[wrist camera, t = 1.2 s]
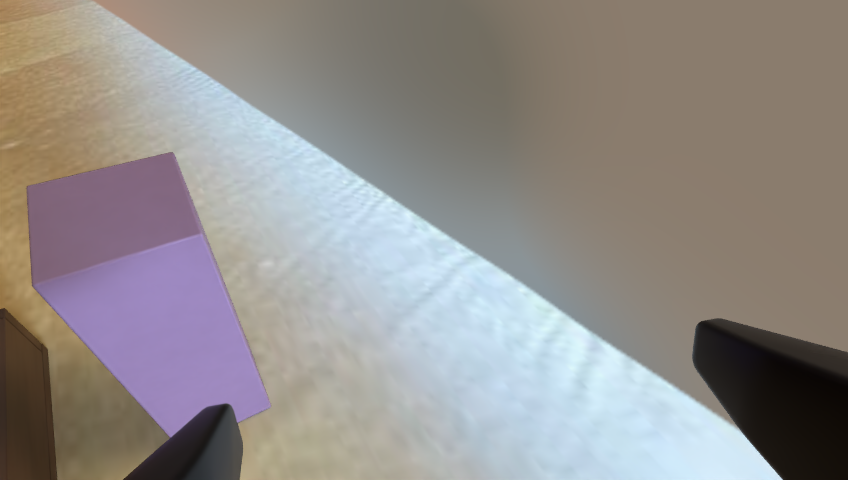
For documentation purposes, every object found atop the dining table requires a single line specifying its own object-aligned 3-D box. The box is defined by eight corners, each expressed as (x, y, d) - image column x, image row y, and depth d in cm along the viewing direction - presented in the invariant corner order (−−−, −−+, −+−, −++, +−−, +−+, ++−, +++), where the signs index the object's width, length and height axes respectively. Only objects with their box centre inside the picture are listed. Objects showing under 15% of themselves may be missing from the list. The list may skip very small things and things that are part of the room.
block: (271, 407, 23) (202, 233, 14) (180, 449, 21) (30, 286, 12) (246, 339, 25) (172, 150, 16) (162, 373, 24) (24, 185, 14)
